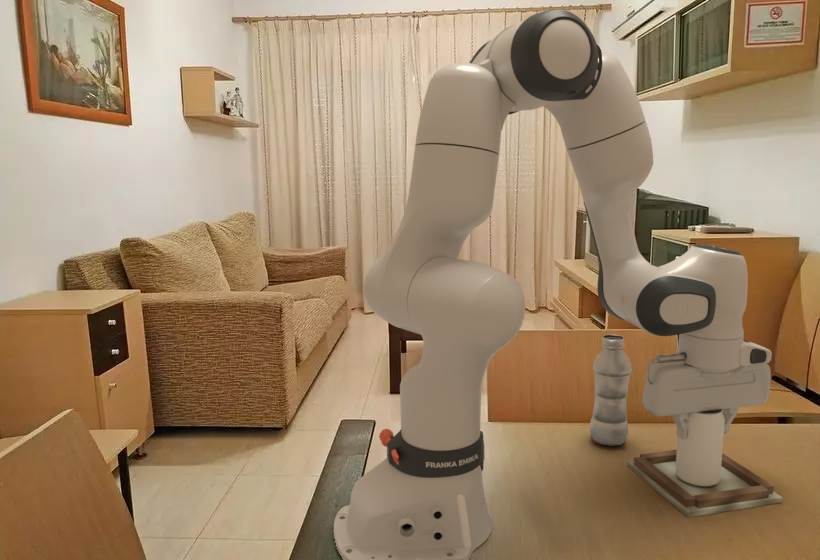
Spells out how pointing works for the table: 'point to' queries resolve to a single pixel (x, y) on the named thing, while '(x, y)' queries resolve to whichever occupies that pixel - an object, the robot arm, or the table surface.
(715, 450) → the can
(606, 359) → the plastic bottle
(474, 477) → the robot arm
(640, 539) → the table surface
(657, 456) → the wooden picture frame
